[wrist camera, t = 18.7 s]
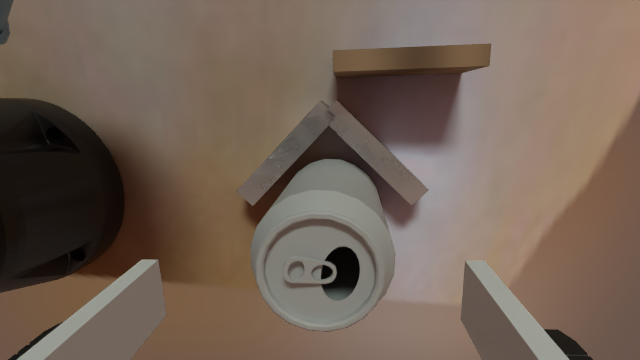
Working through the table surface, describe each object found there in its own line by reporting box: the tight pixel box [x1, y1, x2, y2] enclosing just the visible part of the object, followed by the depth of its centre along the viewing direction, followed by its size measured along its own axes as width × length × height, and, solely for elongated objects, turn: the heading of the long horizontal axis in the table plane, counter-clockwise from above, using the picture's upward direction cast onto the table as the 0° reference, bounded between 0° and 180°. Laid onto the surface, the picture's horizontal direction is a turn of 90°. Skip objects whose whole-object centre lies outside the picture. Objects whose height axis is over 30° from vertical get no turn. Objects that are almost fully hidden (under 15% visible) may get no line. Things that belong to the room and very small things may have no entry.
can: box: [251, 159, 395, 332], centre depth 22 cm, size 8×8×12 cm
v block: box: [237, 100, 428, 206], centre depth 25 cm, size 14×8×2 cm, turn 92°
